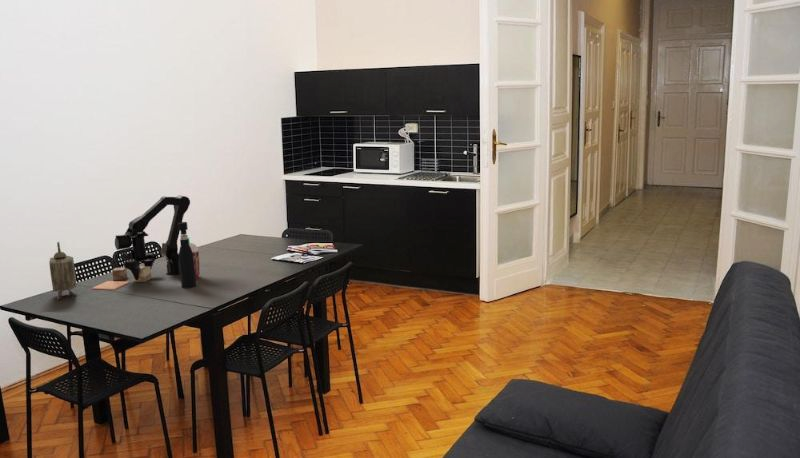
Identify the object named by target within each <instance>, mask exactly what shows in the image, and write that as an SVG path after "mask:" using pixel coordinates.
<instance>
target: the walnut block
mask: <svg viewBox="0 0 800 458" xmlns="http://www.w3.org/2000/svg"><path fill="white" fill-rule="evenodd" d="M111 273H112V274H111V275H112V279H113V280H112V281H124V280H126V279H127V278H128V272H127V268H124V267H115V268H113V269H112V270H111ZM126 277H127V278H126Z"/></svg>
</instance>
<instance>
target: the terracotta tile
mask: <svg viewBox="0 0 800 458" xmlns="http://www.w3.org/2000/svg"><path fill="white" fill-rule="evenodd" d="M128 284H131V282H130V281H124V280H107V281H105V282H103V283H100V284H98V285H96V286H93V287H92V288H91V290H100V291H101V290H102V291H103V290H104V291H106V290H107V291H115V290H118V289H121V288H122V287H124V286H127V285H128Z"/></svg>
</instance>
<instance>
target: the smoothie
mask: <svg viewBox="0 0 800 458" xmlns="http://www.w3.org/2000/svg"><path fill="white" fill-rule="evenodd" d="M188 239H189V245H190V247H191V250H192V253H193V258H194V268H195V278H196V279H198V278H199V277H200V273H201V272H200V271H201V270H200V249H199V248H198V246H197V245H196V244H194V243H193V242H190V241H191V240H190V237H189V236H188Z"/></svg>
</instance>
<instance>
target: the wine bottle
mask: <svg viewBox="0 0 800 458" xmlns="http://www.w3.org/2000/svg"><path fill="white" fill-rule="evenodd" d="M178 226H179V230H180V235H179V236H180V239H179V240H180V241H179V242H180V246H179V249H178V254H179V263H180V280H181V287H182V288H183V289H191V288H194V287H196V286H197V280H196V279H197V278H195V268H194V258H193V253H192V250H191V247H190V245H189V239H190V238H189V239H188V237H189V236H188V234H187V233H188V232H187V230H189V229H188V222H187V221H182V222H180V223H178Z"/></svg>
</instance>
